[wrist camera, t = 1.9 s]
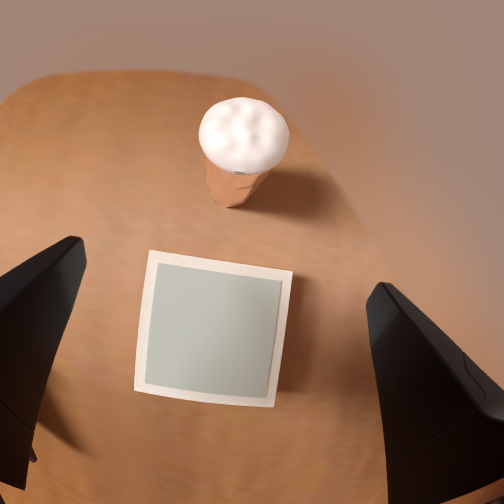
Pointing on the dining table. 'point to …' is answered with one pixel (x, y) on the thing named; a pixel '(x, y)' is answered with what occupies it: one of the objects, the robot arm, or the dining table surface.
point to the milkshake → (240, 147)
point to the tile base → (211, 330)
